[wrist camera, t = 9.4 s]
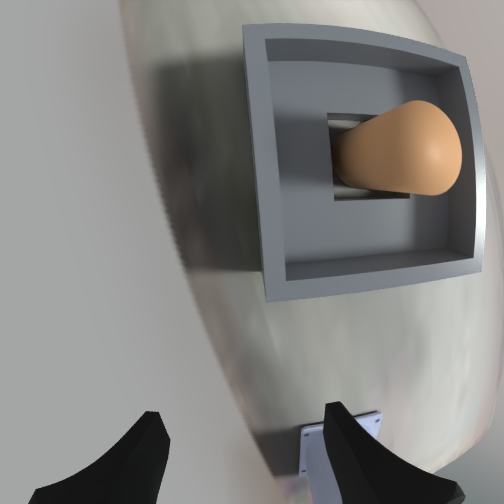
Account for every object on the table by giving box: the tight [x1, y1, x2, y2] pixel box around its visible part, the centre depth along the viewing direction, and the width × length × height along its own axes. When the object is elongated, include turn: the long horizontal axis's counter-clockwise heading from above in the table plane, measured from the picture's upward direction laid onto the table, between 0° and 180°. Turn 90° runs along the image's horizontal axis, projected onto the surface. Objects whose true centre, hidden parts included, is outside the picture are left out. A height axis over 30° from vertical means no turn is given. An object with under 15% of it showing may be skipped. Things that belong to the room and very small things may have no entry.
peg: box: [331, 100, 462, 195], centre depth 13 cm, size 4×4×8 cm
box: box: [242, 23, 486, 302], centre depth 15 cm, size 14×14×5 cm
